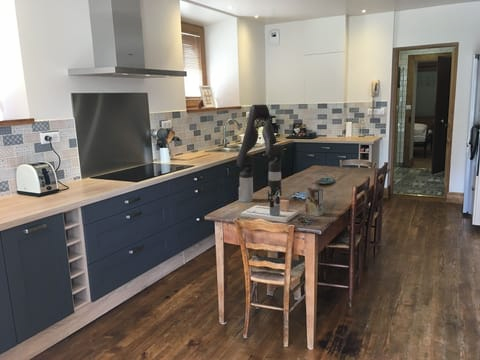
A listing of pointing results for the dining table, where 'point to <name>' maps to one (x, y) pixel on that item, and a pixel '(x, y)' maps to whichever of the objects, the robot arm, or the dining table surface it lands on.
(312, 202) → the coffee box
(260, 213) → the console
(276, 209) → the slate fader
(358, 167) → the dining table surface
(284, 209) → the block
